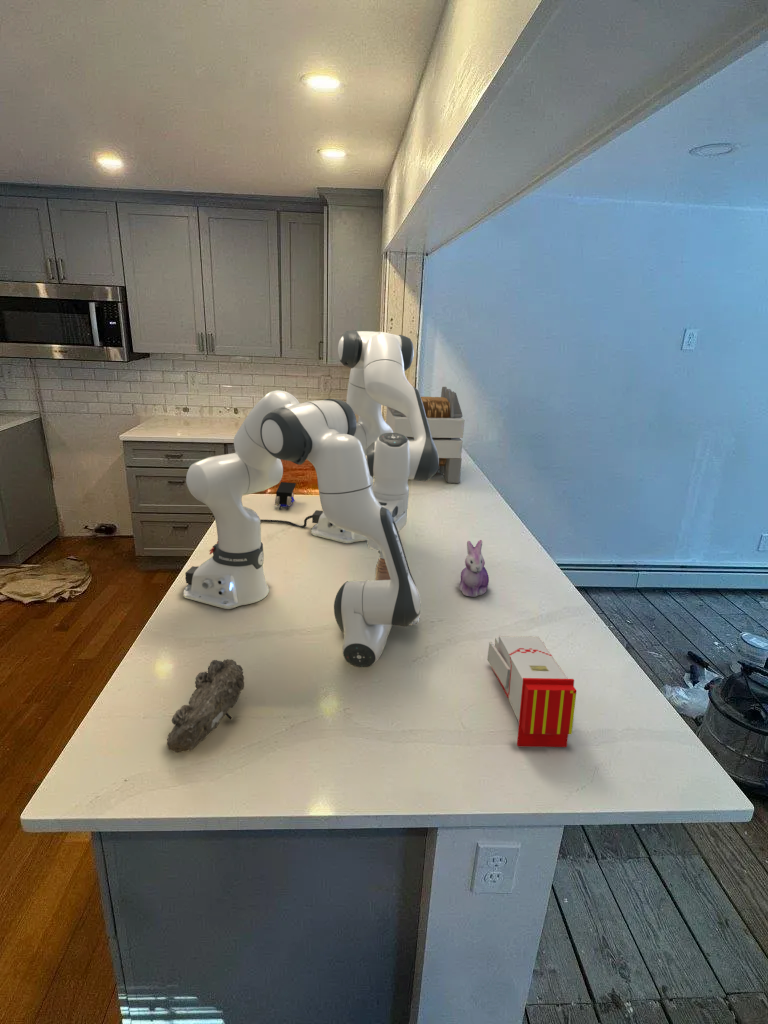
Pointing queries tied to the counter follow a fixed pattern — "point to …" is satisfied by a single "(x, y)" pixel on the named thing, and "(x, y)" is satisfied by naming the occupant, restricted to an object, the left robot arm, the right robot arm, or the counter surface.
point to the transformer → (438, 430)
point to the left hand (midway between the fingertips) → (385, 592)
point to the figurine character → (285, 494)
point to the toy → (534, 690)
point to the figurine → (474, 572)
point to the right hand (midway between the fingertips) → (387, 553)
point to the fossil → (206, 705)
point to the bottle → (381, 570)
